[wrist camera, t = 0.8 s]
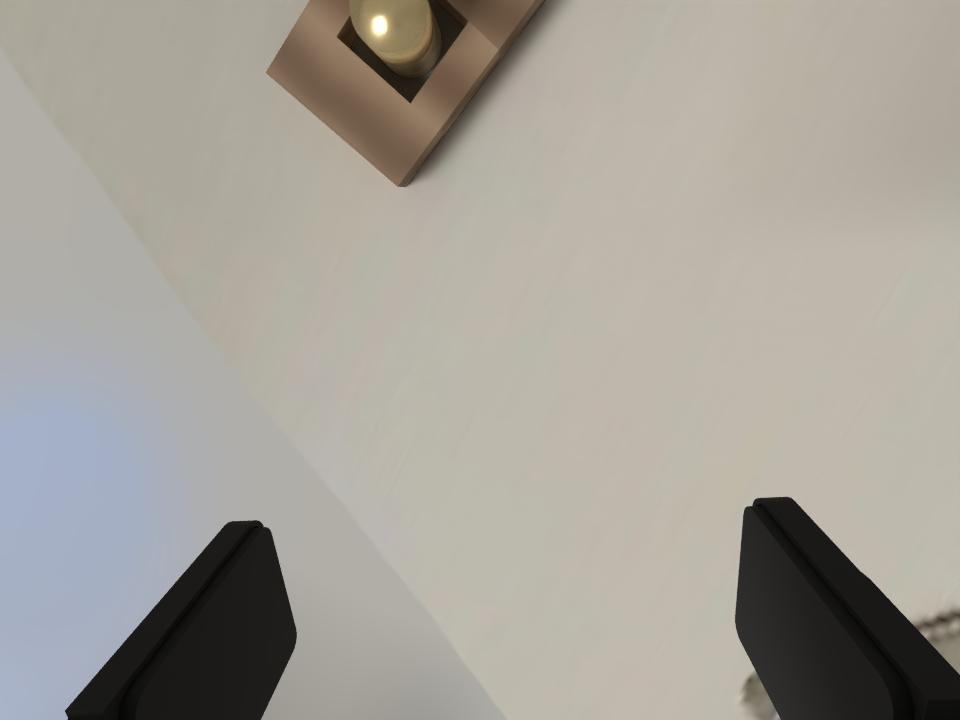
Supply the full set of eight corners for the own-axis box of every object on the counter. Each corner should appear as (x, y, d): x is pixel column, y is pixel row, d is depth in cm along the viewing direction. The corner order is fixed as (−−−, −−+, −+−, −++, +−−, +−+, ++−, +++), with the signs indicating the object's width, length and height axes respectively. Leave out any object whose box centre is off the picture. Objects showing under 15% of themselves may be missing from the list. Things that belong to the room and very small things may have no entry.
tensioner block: (415, -132, 29) (407, -161, 26) (545, -2, 30) (548, -18, 28) (283, 81, 33) (265, 72, 30) (405, 187, 34) (397, 186, 32)
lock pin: (404, -12, 31) (379, -59, 25) (455, 36, 31) (442, 1, 26) (365, 47, 32) (334, 14, 26) (415, 92, 32) (395, 70, 27)
